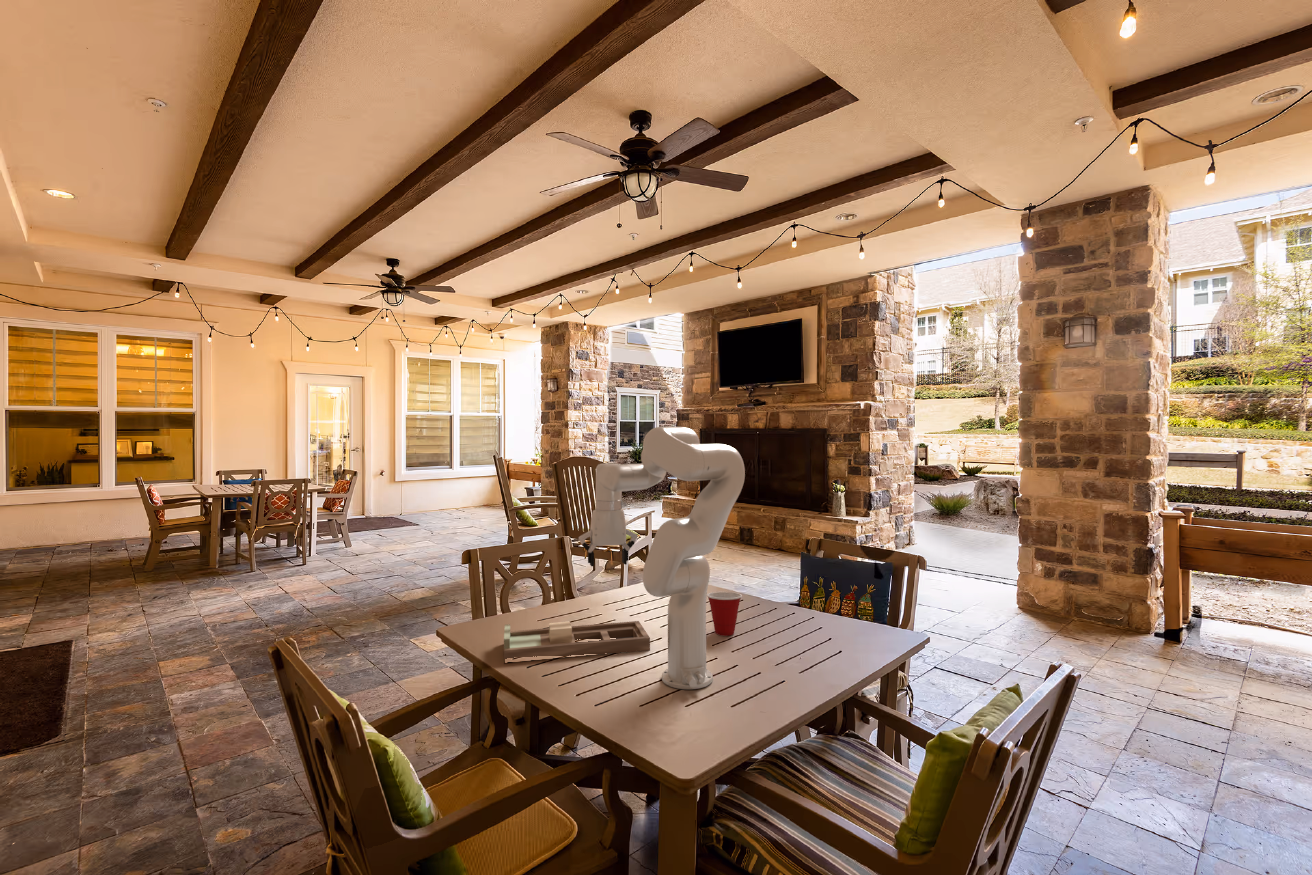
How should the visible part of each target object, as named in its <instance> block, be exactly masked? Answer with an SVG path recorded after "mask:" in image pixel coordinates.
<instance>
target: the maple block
mask: <svg viewBox="0 0 1312 875" xmlns="http://www.w3.org/2000/svg"><path fill="white" fill-rule="evenodd" d="M571 626H572V624H571V621H559V622H550V623H548V628H549V639H550V644H556V643H568V642H572V627H571Z"/></svg>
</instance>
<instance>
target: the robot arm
mask: <svg viewBox="0 0 1312 875" xmlns="http://www.w3.org/2000/svg"><path fill="white" fill-rule="evenodd" d="M700 442H701V441H700V438H699V435H698V434H697V433H696V431H694V430H693V429H691V428H689V427H684V426H657V427H654V428H652V429H650V430H649V431H648V432H647V433H646V435H645V436H644V439H643V443H642V445H643V446H642V448H643V449H642V451H641V453H640V454H641V455H640V460H641V463H626V464H625V463H623V464H618V463H611V462H609V463H607V462H606V463H598V464H597V466H596V467H595V509H594V510H592V513H591V519H590V530H588V531H587V532H584V533H583V534H581V535H580V536H578V540H579V542H580V544H581V546H582V548H584V549H585V550H586V551H587V564H589V565H590V567H594V566H595V553H594V550H595V549H596V547H597V546H598V547H603V546H605V547H606V546H620V545H621V546H622V547H623V548H622V550H621V563H622V564H623V565H627V562H628V561H629V551H630V550H631V549H632V547H633V546H634V545H635V542H636V541H637V539H638V534H637V533H634V532H633V531H630V530H629V529H627V525H626V517H625V511H624V509H623V508H624V507H627V501H623V500H622V495H623V494H622V492H630V491H631V492H632V491H641V490H647V489H649V488H651V487H653V486H655V485H657V484H659V483H661V482H662V481H663V480H664V479H665V477H666V475H667V473H668V474H670V475H671V476H673V477H674V478H676V479H678V480H681V481H684V482H696V481H697V482H699V481H709V482H708V484H707V485H706V486H705V487H703V489H702V490H701V491H700V493H699V494H698V496H697V497H696V500H695V502H694V505H693V507H692V509H691V511H690V513H689V514H688V515H687V516H685V517H680V518H672V519H669V520H667V521H665V522H663V523H662V524H661V525H660V526H659V527H658V529H657V531H656V533H655V535H654V537H653V541H652V543H651V545H650V549H649V551H648V554H647V557H646V560H645V561H644V566H643V569H642V583H643V584H642V585H643V587H644V588H645V591H646V592H647V593H649V595H650V596H653V597H656V598H664V597H668V596H670V598H669V601H668V604H667V668H666V669H665V670H663V671H662V673H661V680H662V682H663V683H664V684H665V685H666V686H668V687H671V688H674V689H678V690H697V689H703V688H705V687H708V686H709V685H711V683H712V682H713V679H714V676H713V673H712V671H710V670H709V669H708V668H707V598H708V597H707V594H708V589H709V588H708V587H709V584H710V583H709V582H710V577H711V576H710V575H711V569H710V568H711V567H710V564H709V561H708V560H707V558H706V557H705V556H706V555H709V554H711V553H712V552H713V551H714V550H715V548H716V547H717V545H718V542H719V540H720V538H721V536H722V533H723V531H724V529H725V526H726V524H727V521H728V519H729V516H730V514H731V512H732V509H733V507H734V505H735V503H736V502H737V500H738V498H739V496H740V495H741V492H742V489H743V486H744V483H745V477H746V474H745V473H746V472H745V471H746V469H745V464H744V460H743V458H742V456H741V454H740V452H739V451H738V450H737V449H736V448H734V447H732V446H731V445H727V444H724V443H700ZM627 535H628V536H629V537H630V540H629V541H627ZM588 538H589V541H590V543H589V545H588V544H587V542H586V539H588Z"/></svg>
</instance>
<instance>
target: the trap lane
mask: <svg viewBox="0 0 1312 875" xmlns="http://www.w3.org/2000/svg"><path fill="white" fill-rule="evenodd" d="M571 627H572V642H568V643H556V644H550V639H549V627H548V628H547V627H546V628H545V627H544V628H536V629H535V628H534V629H523V630H511V623H510V624H509V623H508V624H504V629H503V630H504V633H503V660H504V659H507V658H514V657H533V656H534V657H535V656H536V657H537V656H569V655H570V656H571V655H584V654H605V653H607V654H605V655H609V654H608V653H616V654H621V653H620V652H626V653H635V652H646V651H650V650H651V636H649V634H648V633H647V631H646V630H645V628H644V627H643V625H642V624H641V623H640V621H639V620H634V621H622V622H621V621H620V622H610V623H609V622H608V623H607V622H605V623H597V624H595V623H594V624H582V625H571ZM610 638H616V639H610ZM577 639H578V640H579V639H601V640H599V641H588V642H575V640H577Z"/></svg>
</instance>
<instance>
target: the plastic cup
mask: <svg viewBox="0 0 1312 875" xmlns="http://www.w3.org/2000/svg"><path fill="white" fill-rule="evenodd" d="M742 597H743V595H742V594H741V593H738V592H731V591H715V592H714V591H712V592H709V593H708V592H707V597H706V598H708V601H709V605H710V611H711V616H712V622H713V627H714V632H715V634H716V635H719V636H721V637H722V636H723V637H728V636H732V635H734V634H735V631H736V623H737V619H738V612H739V606H740V602H741V598H742Z"/></svg>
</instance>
